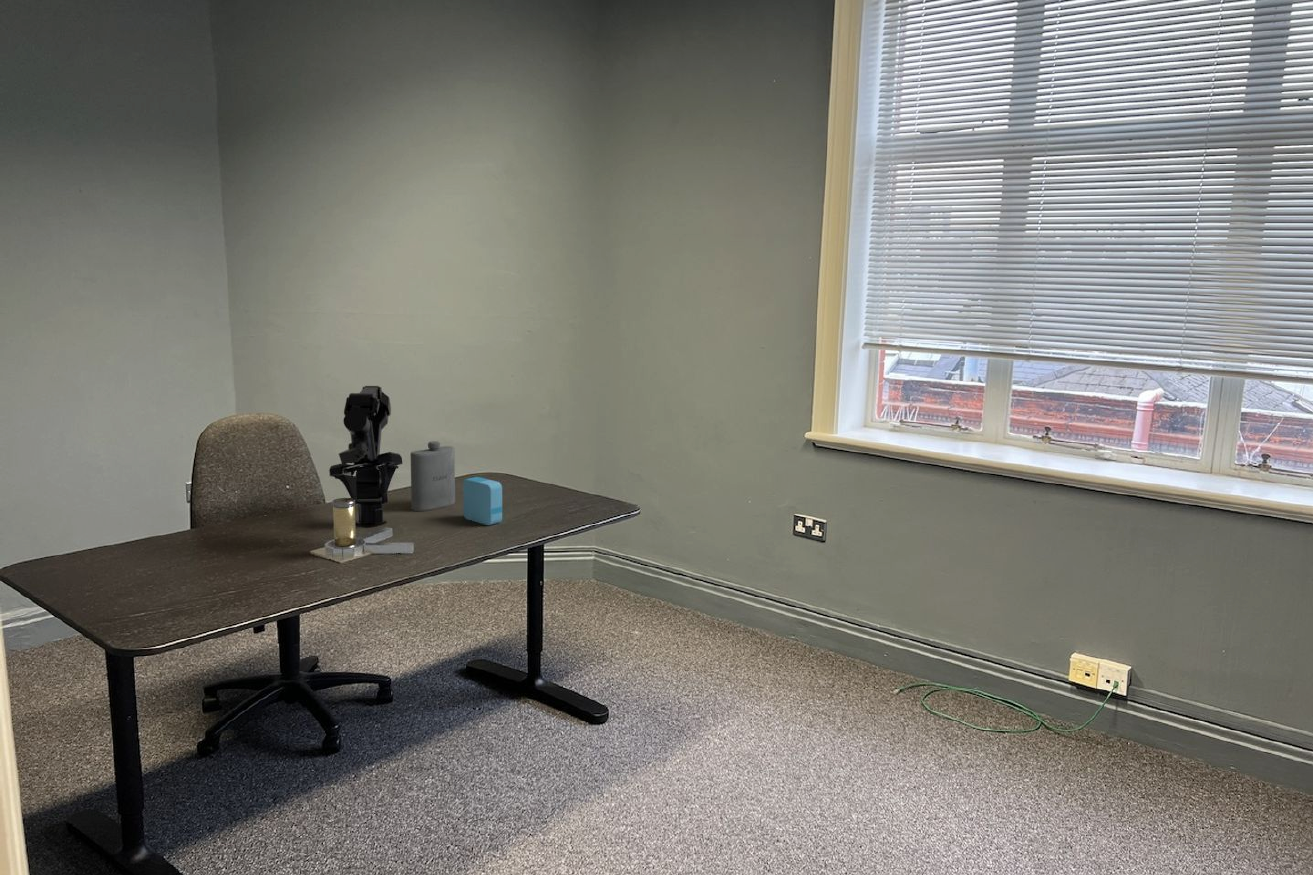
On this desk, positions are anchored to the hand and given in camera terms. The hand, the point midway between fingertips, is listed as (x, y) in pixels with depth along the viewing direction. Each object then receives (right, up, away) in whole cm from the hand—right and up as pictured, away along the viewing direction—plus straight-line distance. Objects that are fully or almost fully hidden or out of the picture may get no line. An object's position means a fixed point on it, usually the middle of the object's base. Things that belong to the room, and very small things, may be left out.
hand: (369, 497), depth 242 cm
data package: (+25, -9, +26) cm, 37 cm away
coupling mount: (+2, -13, -4) cm, 14 cm away
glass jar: (-4, -13, -6) cm, 15 cm away
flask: (+8, -6, +39) cm, 40 cm away
